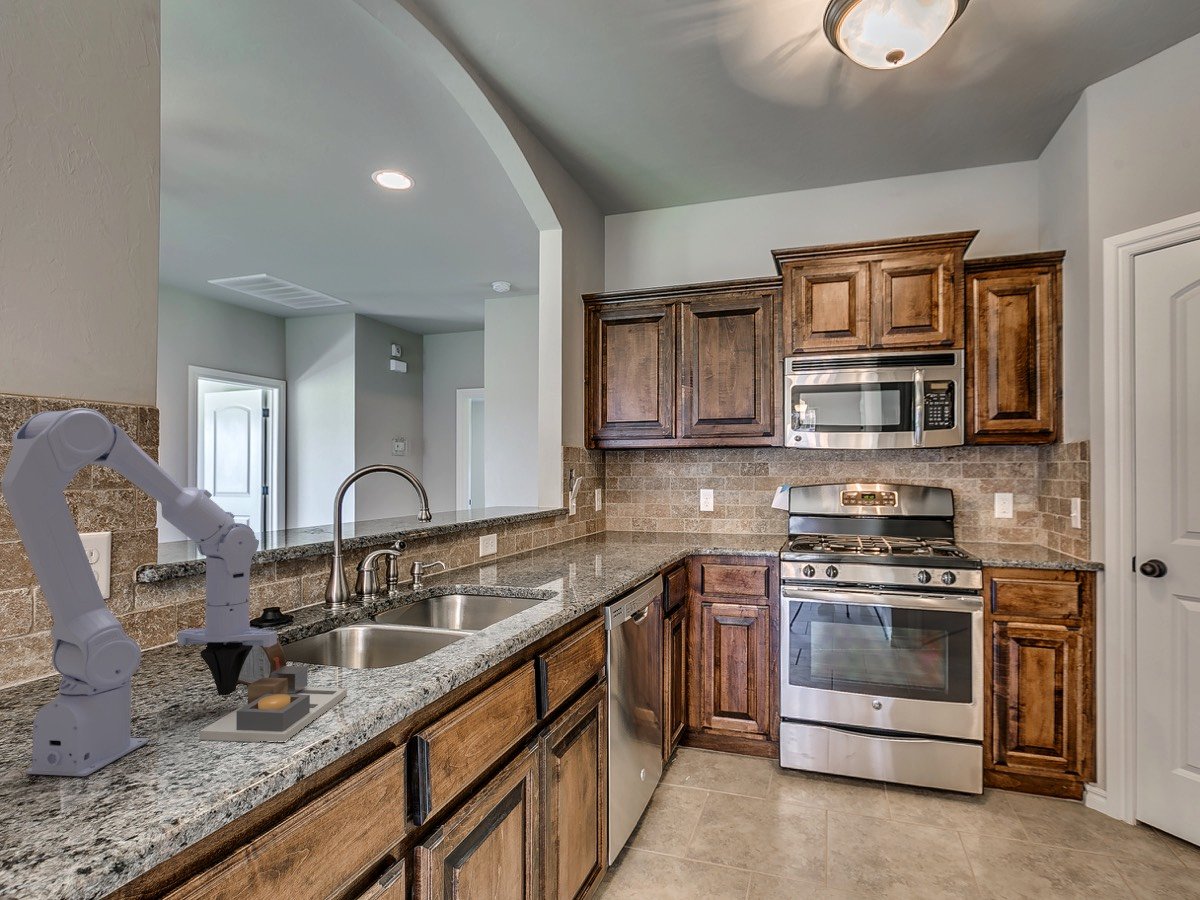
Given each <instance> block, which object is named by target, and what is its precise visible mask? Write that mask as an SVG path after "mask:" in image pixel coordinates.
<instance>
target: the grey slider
mask: <svg viewBox="0 0 1200 900" xmlns="http://www.w3.org/2000/svg"><path fill="white" fill-rule="evenodd" d="M271 678H288V688H287V693H296V692H298V691H299V690H301V689H303V688H304V687H308V666H303V665H302V666H299V665H298V666H296V665H293V666H291V665H286V666H283V667H281V668H279V669H277V670H276V671H274V672H272V673H271Z"/></svg>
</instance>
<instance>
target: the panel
mask: <svg viewBox="0 0 1200 900" xmlns="http://www.w3.org/2000/svg"><path fill="white" fill-rule="evenodd" d="M272 695H280V694H265V695H263V696H262V697H260V698H258V699H256V700H255V701H253V702H251V703H250V704H248V702H246V703H245V704H243V705H241V706H240V707H238V708H237V709H235V710H233V711H231V712H229V713H228V714H226V715H225V716H222V717H221V718H220V719H218V720H216V721H214V722H213V723H210V724H209V725H207V726H206V727H204V728H202V729H201V730H199V741H217V742H218V741H221V742H222V741H223V742H224V741H225V742H247V743H264V742H263V741H277V742H278V741H283V742H284V741H286V740H287V739H289V738H290V737H292V736H293V735H294V734H296V733H297V732H299V731H300V730H301V729H302V728H304V727H305V726H307V725H308V724H309V723H311V722H312V721H313V720H315V719H316V718H317V719H319V718H320V717H321V716H323V715H324V714H325V713H326V711H327V712H328V711H329V710H331V709H332V708H333V707H335V706H336V705H337V704H339V703H340V702H342V699H343V698H344V697H345V698H347V697H346V696H348V688H338V687H337V688H336V687H335V688H334V687H333V688H332V687H311V686H310V687H308V686H306V687H304V688H303V689H301V690H299V691H298V692H296V693H287V694H283V695H289V696H290V704H288V705H287V706H285V707H284V708H282V709H281V710H274V709H258V701H259V700H261V699H262V698H265V697H268V696H272ZM345 698H344V699H345ZM344 699H343V700H344ZM339 701H340V702H339ZM338 702H339V703H338ZM334 705H335V706H334ZM330 708H331V709H330ZM323 713H324V714H323ZM322 714H323V715H322ZM320 715H321V716H320ZM319 716H320V717H319ZM318 717H319V718H318ZM317 719H316V720H317ZM316 720H315V721H316ZM313 722H314V721H313ZM313 722H312V723H313ZM312 723H311V724H312ZM309 725H310V724H309ZM309 725H308V726H309ZM308 726H307V727H308ZM305 728H306V727H305ZM305 728H304V729H305ZM301 731H302V730H301ZM301 731H300V732H301ZM300 732H299V733H300ZM297 734H298V733H297ZM297 734H296V735H297ZM293 737H294V736H293ZM293 737H292V738H293ZM289 740H290V739H289ZM260 741H261V742H260Z"/></svg>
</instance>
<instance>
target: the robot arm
mask: <svg viewBox="0 0 1200 900" xmlns="http://www.w3.org/2000/svg"><path fill="white" fill-rule="evenodd" d="M11 439H12V448H11V450H10V451H11V452H10V454H9V455H10V456H9V457H8V462H7V465H6V467H5V470H4V474H3V476H2V479H1V483H0V489H1V493H2V495H3V498H4V500H5V503H6V506H7V507H8V511H9V513H10V515H11V518H12V521H13V523H14V525H15V527H16V530H17V532H18V536H19V538H20V540H21V543H22V545H23V547H24V550H25V552H26V555H27V557H28V560H29V562H30V564H31V567H32V569H33V572H34V575H35V576H36V577H35V578H36V580H37V581H38V585H39V587H40V589H41V591H42V595H43V597H44V599H45V601H46V604H47V607H48V608H49V611H50V613H51V617H52V619H53V621H54V622H53V625H52V627H51V630H50V635H51V638H52V641H53V649H52V654H51V662H52V663H51V664H52V666H53V668H54V669H55V671H56V672H57V673H58V674H60V675H62V678H61V680H60V684H59V688H58V690H59V691H58V694H57V695H56V696H55V697H54V699H53V700H52V701H50V702H48V703H47V704H45V705H43V706H42V707H40V708H39V710H38V711H37V713H36V714H35V716H34V719H33V723H32V753H31V754H32V758H31V759H32V762H31V764H32V765H31V766H30V767H28V768H26V770H25V774H28V775H45V776H46V775H47V776H68V777H86V776H89V775H91V774H93V773H94V772H96V771H98V770H100V769H102V768H103V767H106V766H107V765H109V764H110V763H113V762H115V761H116V760H118V759H119V758H122V757H124V756H126V755H127V754H129V753H131V752H132V751H134V750H137V749H139V748H140V747H142V746H144V745H145V744H147V743H148V741H149V740H148V738H144V737H143V738H142V737H138V738H137V737H131V732H132V731H131V728H132V726H131V723H132V721H131V719H132V718H131V716H132V714H131V713H132V712H131V711H132V677H133V676H134V674H136V671H137V670H138V669H139V668H140V667H139V666H140V665H141V663H142V662H141V661H142V650H141V647H140V645H139V644H138V642H137V641H135V639H133V638H131V637H130V636H128V635H127V634H126V632H125V630H124V628H123V625H122V623H121V622H120V620H119V619H118V618H117V617H116V616H115V615H114V614H113V612H111V611H110V610H109V608H108V607H107V605H106V602H105V599H104V597H103V595H102V591H101V589H100V585H99V584H98V581H97V579H96V576H95V573H94V571H93V568H92V565H91V562H90V560H89V557H88V555H87V552H86V550H85V549H86V548H85V547H84V545H83V541H82V540H81V536H80V534H79V532H78V528H77V526H76V524H75V521H74V518H73V515H72V513H71V510H70V507H69V504H68V503H67V499H66V497H65V494H64V490H65V489H66V488H67V486H68V485H69V484H70V483H71V481H72V480H73V479H74V478H75V477H76V475H77V474H78V473H79V472H80V471H81V469H83V468H85V467H86V466H87V465H89V464H90V465H94V466H100V467H104V468H105V467H107V468H110V469H112V470H114V472H116V473H118V474H119V475H121V476H122V477H124V478H125V479H126V480H127V481H129V482H131V483H132V484H134V486H136V487H138V488H139V489H140V490H141V491H143V492H144V493H146V494H147V495H149V497H151V498H153V499H154V500H155V501H157V502H158V503H160V504H161V517H162V518H163V519H164V520H165V521H167V522H168V523H169V524H171V525H172V526H173V527H175V528H176V529H177V530H179V531H180V533H183V534H184V535H185V536H186V537H188V539H190V540H191V541H192V542H194V543H195V544H196V547H197V551H198V552H199V554H200V555H202V556H205V559H206V561H205V566H206V567H205V623H204V624H205V626H204V627H205V628H203V627H202V628H186V629H183V630H179V631H178V632H177V645H178V646H185V645H187V644H189V645H191V644H192V645H206V647H205V649H202V650H200V657H201V658H202V659H203V661H204V662H205V664H206V666H208V668H209V670H210V673H211V675H212V677H213V680H214V681H213V682H214V683H215V687H216V691H217V694H218V696H228V695H231V694H232V693H234V692H236V689H237V685H238V678H239V675H240V672H241V669H242V667H243V664H244V662H245V660H246V658H247V656H248V654H249V652H250V651H251V649H252V648H253V645H260V646H263V647H270V646H272V645H275V644H277V641H278V631H277V630H269V629H264V628H255V627H251V626H250V599H251V598H250V596H251V595H250V591H251V590H250V586H251V585H250V584H251V583H250V581H251V580H250V579H251V578H250V576H251V575H250V574H251V567H252V559H253V556H254V555H255V553H256V552H257V550H258V549H259V545H260V540H259V539H257V537H256V535H255V532H254V530H253V529H252V527H251V526H249V525H247V524H245V523H242V522H236V521H235V519H234V518H235V515H234V514H233V512H231V511H225V510H224V509H223V508H222V507H220V506H219V505H218V504H217V503H216V502H215V501H214V500H212V499H211V497H212V495H213V494H212V493H211V492H210V491H209V490H208V489H199V488H198V487H195V486H189V487H182V485H180V483H178V482H177V481H176V480H175V479H174V478H173V477H172V476H171V475H170V474H169V473H168V472H166V471H165V469H164V468H162V467H161V466H160V465H159V464H158V463H157V462H156V461H155V460H154V459H153V458H152V457H151V456H150V455H148V454H147V453H146V452H145V451H144V450H143V449H142V448H141V447H139V445H138V444H137V443H136V442H134V441H133V440H132V439H131V438H130V436H129V435H128V434H127V433H126V431H125V430H124V429H123V428H122V427H120V426H118V425H116V424H113V423H111V422H110V420H109V419H108V418H107V417H106V416H105V415H104V414H103V413H101V412H100V411H97V410H95V409H93V408H86V407H85V408H84V407H78V408H77V407H76V408H71V409H68V410H67V409H66V410H60V411H57V410H47V411H41V412H39V413H38V412H37V413H36V414H34V415H32V416H30V418H29V419H27V420H26V421H25V422H24V423H23V424H22V425H21V426H20V427H19V428H18V429H17V431H16V432H15V433H13V434H12V437H11Z"/></svg>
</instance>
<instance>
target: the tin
mask: <svg viewBox="0 0 1200 900" xmlns="http://www.w3.org/2000/svg"><path fill="white" fill-rule="evenodd" d="M286 659H287V657H286V653H285V652H284V649H283V647H282V644H281V643H280V642H279V640H277V644H275V645H272V646H270V647H263V646H260V645H253V648H252V649H251V651H250V652H249V654H248V656H247V658H246V660H245V662H244V664H243V667H242V669H241V672H240V675H239V678H238V682H239V683H241V684H245V685H247V686H248V685H250V684H252V683H253V682H255V681H257V680H259V679H261V678H271V673H272V672H274V671H276V670H277V669H279V668H281V667H283V666H287V660H286ZM238 682H237V683H238Z"/></svg>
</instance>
